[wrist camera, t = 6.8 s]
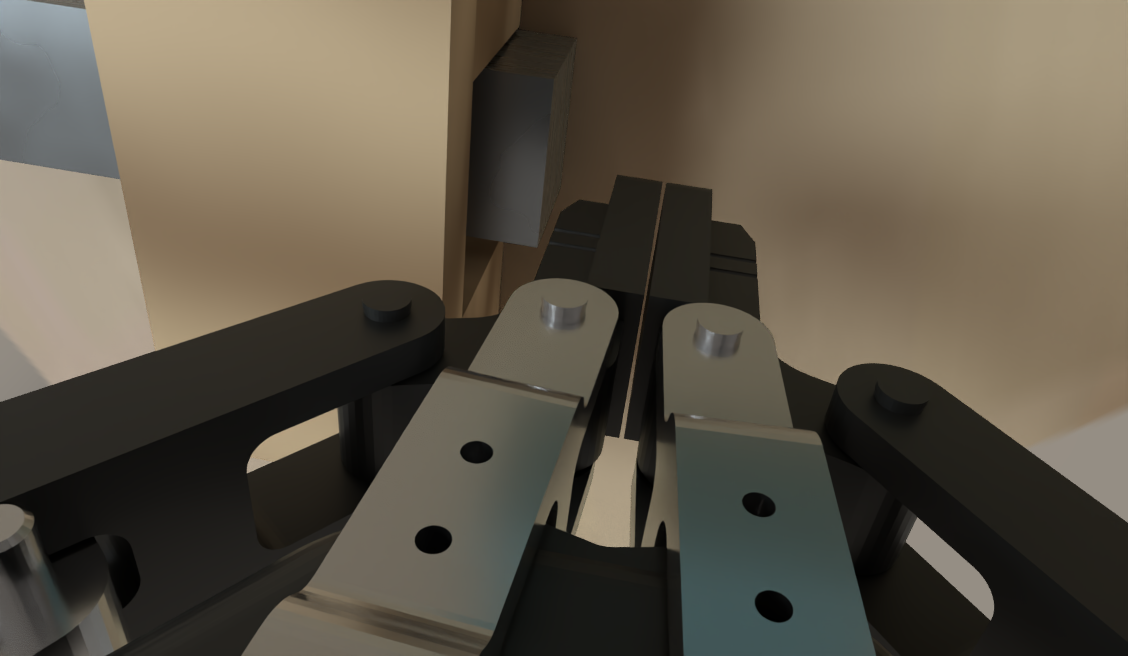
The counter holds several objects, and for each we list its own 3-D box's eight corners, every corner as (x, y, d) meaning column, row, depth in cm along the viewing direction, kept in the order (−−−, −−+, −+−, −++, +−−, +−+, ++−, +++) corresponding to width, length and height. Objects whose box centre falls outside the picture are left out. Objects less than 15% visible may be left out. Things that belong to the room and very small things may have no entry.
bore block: (242, -194, 14) (44, -190, 10) (533, -156, 14) (455, -135, 10) (288, 305, 20) (174, 442, 15) (496, 341, 19) (436, 492, 15)
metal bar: (-21, -54, 16) (-153, -27, 14) (578, 33, 16) (553, 79, 13) (18, 95, 18) (-93, 143, 15) (562, 182, 17) (537, 247, 15)
